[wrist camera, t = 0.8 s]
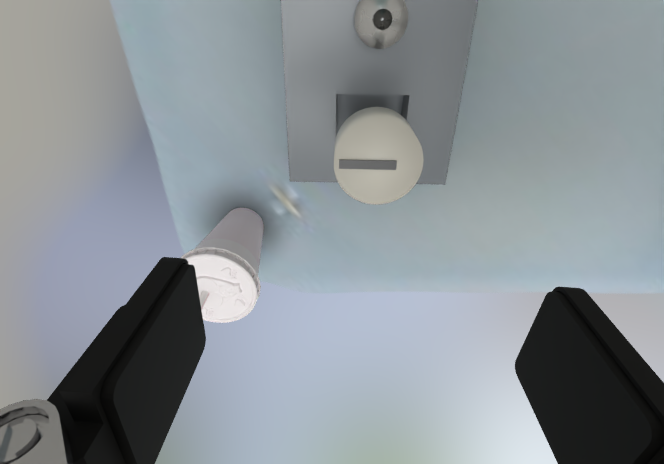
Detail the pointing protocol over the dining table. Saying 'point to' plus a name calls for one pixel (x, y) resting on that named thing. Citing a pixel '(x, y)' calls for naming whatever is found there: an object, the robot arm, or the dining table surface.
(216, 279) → the smoothie
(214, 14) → the dining table surface
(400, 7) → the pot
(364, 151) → the knob
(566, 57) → the dining table surface
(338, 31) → the mount
